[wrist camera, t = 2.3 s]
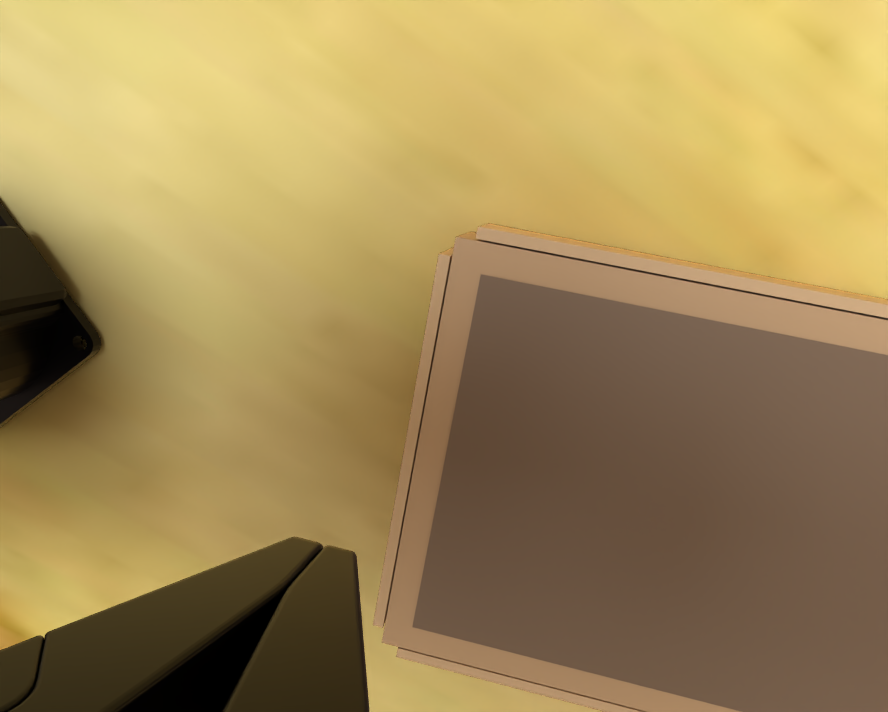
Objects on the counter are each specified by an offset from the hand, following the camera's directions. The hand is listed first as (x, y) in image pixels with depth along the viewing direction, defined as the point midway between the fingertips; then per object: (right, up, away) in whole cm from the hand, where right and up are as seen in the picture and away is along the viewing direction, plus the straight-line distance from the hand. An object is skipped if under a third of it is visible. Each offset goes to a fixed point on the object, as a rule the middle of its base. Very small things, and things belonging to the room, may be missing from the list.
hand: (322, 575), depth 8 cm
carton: (+9, -1, +12) cm, 15 cm away
